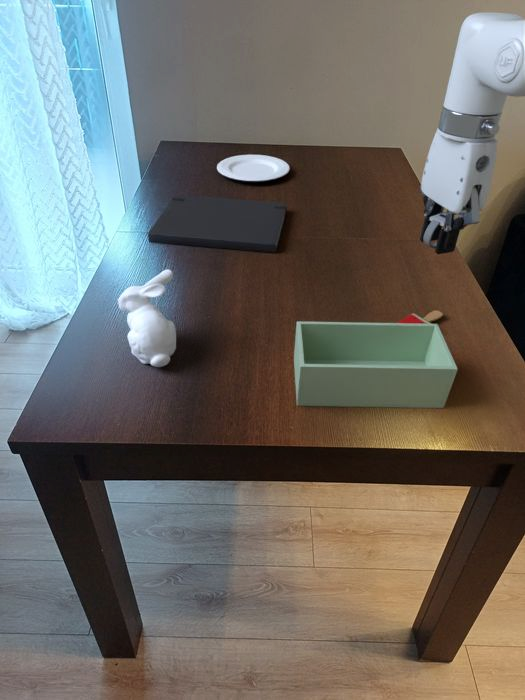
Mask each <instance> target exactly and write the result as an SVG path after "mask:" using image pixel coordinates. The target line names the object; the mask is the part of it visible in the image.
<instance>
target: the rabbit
mask: <svg viewBox="0 0 525 700" xmlns="http://www.w3.org/2000/svg"><path fill="white" fill-rule="evenodd" d="M173 279H174V273H173V271H172V270H171V269H164V270H163V271H161V272H160V273H159V274H157V275H156V276H154V277H153V278H151V279H149V281H147V282H146V283H145V284H144V285H131V286H129V287H127V288H126V289H124V291H122V293H121V294H120V296H119V298H118V299H117V304H118V308H119V310H120V311H122V312H127V315H126V317H127V318H126V322H127V325H128V328H129V329H130V330H129V331H128V333H127V336H126V337H127V340H128V343H129V347H130V349H131V354H132V355H133V356H134V357H136V358H137V359H138V360H139V362H141V364H143V365H148V364H150V365H151V366H152V367H154V368H163V367H165V366H167V365H168V364H169V363H170V362H171V357H172V356H173V355H174V354H175V351H176V349H177V332H176V330H177V329H176V326H175V324H174V322H173V321H171V320H168V319H167V318H166V317H165V315H164V314H162V312H161V311H160V310H159V308H158V306H157V305H155V304H154V303H153V302H152V301H151V298H153V299H155V298H159V297H162V296H163V295H164V294H165V293H166V291H167V288H166V286H165V285H167V284H168V283H169V282H171V281H172V280H173Z"/></svg>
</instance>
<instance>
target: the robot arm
mask: <svg viewBox="0 0 525 700" xmlns="http://www.w3.org/2000/svg"><path fill="white" fill-rule="evenodd" d="M455 47H456V48H455V52H454V56H453V61H452V64H451V65H452V66H451V70H450V74H449V78H448V79H449V80H448V84H447V88H446V92H445V97H444V102H443V106H442V109H441V114H440V118H439V123H438V127H437V129H436V131H435V133H434V136H433V139H432V141H431V144H430V147H429V151H428V153H427V157H426V160H425V164H424V169H423V173H422V177H421V184H420V185H419V193H420V195H421V197H422V202H423V205H424V209H423V216H424V221H423V224H422V229H421V234H420V238H419V241H420V242H421V243H424V241H423V238H424V234H425V231H426V229H427V227H428V226H429V224H430V223H431V222H432V221H430V217H432V216H434V215H437V214H440V213H443V212H444V210H446V219H445V225H444V226H441V225H438V226H437V228H436V229H435V231H434V233H433V235H432V237H431V242H433V241H436V242H437V245H436V248H434V252H435V254H437V255H442V254H448V253H453V252H454V251H455V250H456V246H457V242H458V238H459V235H460V232H461V231H463V230H464V229H465V228H466V227H467V226H469V225H475V224H479V223H480V221H481V213H480V211H483V210H484V208H485V206H486V203H487V200H488V196H489V193H490V190H491V185H492V181H493V176H494V172H495V167H496V160H497V153H498V140H497V139H495V138H496V135H497V134H498V133H499V132H500V125H499V124H500V121H501V118H502V114H503V111H504V107H505V104H506V101H507V96H509V97H514V98H515V97H516V98H517V97H519V98H520V97H525V18H524V17H522V16H521V15H519V14H515V13H509V12H495V11H494V12H492V11H490V12H488V11H486V12H485V11H483V12H475V13H471V14H470V15H468V16H467V17H466V18H465V19H464V20H463V22H462V24H461V27H460V30H459V34H458V39H457V44H456V46H455ZM456 215H458V216H457V219H455V220H454V216H456Z"/></svg>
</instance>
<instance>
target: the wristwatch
mask: <svg viewBox="0 0 525 700" xmlns="http://www.w3.org/2000/svg"><path fill="white" fill-rule="evenodd" d="M446 213H447V211H446V212H445V211H443V213H440V214H437V215H434V216H432V217H430V221H432V222H431V223H430V224H429V226H428V227H427V229H426V231H425V234H424V238H423V241H424V242H423V244H424V245H426V246H428V247H429V248H431V249H436V245H437V241H436V242H434V243H432V241H431V237H432V235H433V233H434V231H435V229H436V228H437V226H438V225H441V226H442V227H444V225H445V219H446ZM457 218H458V216H456V215H454V220H455V219H457Z"/></svg>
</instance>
